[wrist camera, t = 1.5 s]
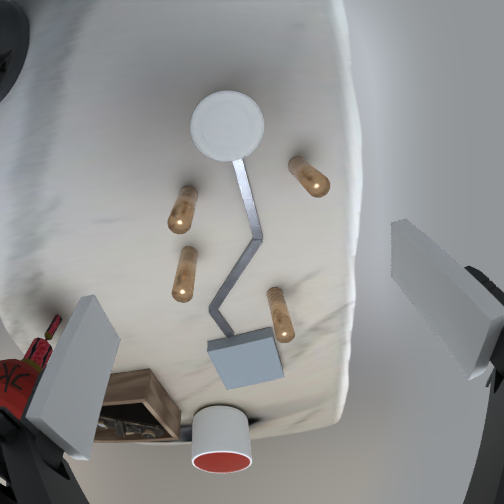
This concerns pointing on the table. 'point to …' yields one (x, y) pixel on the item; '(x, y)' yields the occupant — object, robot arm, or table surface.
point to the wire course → (188, 257)
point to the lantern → (25, 372)
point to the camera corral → (135, 391)
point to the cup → (221, 440)
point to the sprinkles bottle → (227, 126)
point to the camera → (130, 420)
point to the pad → (246, 358)
